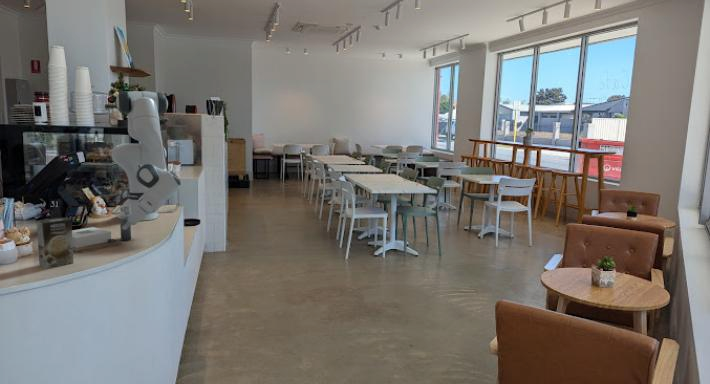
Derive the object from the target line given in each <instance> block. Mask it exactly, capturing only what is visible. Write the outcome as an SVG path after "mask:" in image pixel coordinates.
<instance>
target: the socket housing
mask: <svg viewBox="0 0 710 384" xmlns="http://www.w3.org/2000/svg"><path fill="white" fill-rule="evenodd" d="M108 239H112V232H111V231H109V230H107V229H103V228H99V227H96V226H95V227H94V226H92V227H91V226H90V227H87V228H86V227H85V228H80V229H74V230H73V229H72V242H73V247H75V248H79V247H84V246H89V245H94V244H99V243H104V242H108Z"/></svg>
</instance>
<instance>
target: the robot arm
mask: <svg viewBox="0 0 710 384" xmlns="http://www.w3.org/2000/svg"><path fill="white" fill-rule="evenodd" d="M115 104H116V108H117V110H118V111H119V112H120V113H121V114H124V115H127V132H128V135H129V136H130V137H131V138H132V139H134V140H135V141H138V142H140V143H121V144H116V145H115V146H114V147H113V148H112V149H111V153H110V154H111V158H112V160H113V162H114V163H115V164H116V165H118V166H119V167H120V168H122V169H123V170H124V172H125V174H126V176H127V178H128V187H129V191H128V193H127V200H125V201H124V203H122V204H121V206H120V213H119V214H118V213H117V214H116V215H115V217H116V218H118V219H120V217H123V216H129V217H128V219H127V223H126V224H125V225H124V226H123V227H122V228H123V229H124V230H126V229H127V228H128V227H129V226H131V227H132V226H134V225H137V224H138V223H139V222H142V221H151V220H156V219H158V217H160V214H159V213H158V210H160V208H161V207H163V206H164V204H165V202H166V201H167V200H169V199H170V198H172V197H173V196H174V194H176V192H177V191H178V190H179V189H180V187H181V183H182V182H181V180H180V178H179V176H178V175H176V173H175V172H174V171H172V170H169V169H168V164H167V149H166V148H165V147H164V143H163V138H162V132H161V125H160V124H161V123H160V115H164V114H166V113H167V110H168V106H169V101H168V99H167V96H166V95H165V94H164V93H162V92H159V91H157V92H153V91H145V90H142V91H134V90H133V91H127V90H123V91H119V93H118V95H117V96H116V100H115ZM141 165H142V166H141ZM139 166H140V167H139Z"/></svg>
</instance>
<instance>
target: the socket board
mask: <svg viewBox="0 0 710 384" xmlns="http://www.w3.org/2000/svg"><path fill="white" fill-rule="evenodd" d="M119 245H122V241H121V240H117V239H116V238H111V239H108V242H104V243H99V244H94V245H89V246H84V247H79V248H75V247H73V254H74V253H75V254H79V252H80V253H84V251H85V252H89V250H90V251H93V250H94V249H95V250H99V248H100V249H104V248H108V247H114V246H119Z"/></svg>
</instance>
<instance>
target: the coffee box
mask: <svg viewBox="0 0 710 384" xmlns="http://www.w3.org/2000/svg"><path fill="white" fill-rule="evenodd" d="M44 219H45V220H44ZM44 219H39V220H36V227H37V228H36V229H37V230H36V231H37V245H38V264H39V265H40V267H43V268H44V267H45V269H48V267H50V268H54V267H53V266H55V267H59V266H58V265H61V266H65V265H64V264H66V265H70V264H69V263H71V264H74V252H73V242H72V230H73V225H72V219H70V218H68V217H58V218H57V217H56V218H53V219H46V218H44Z"/></svg>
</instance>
